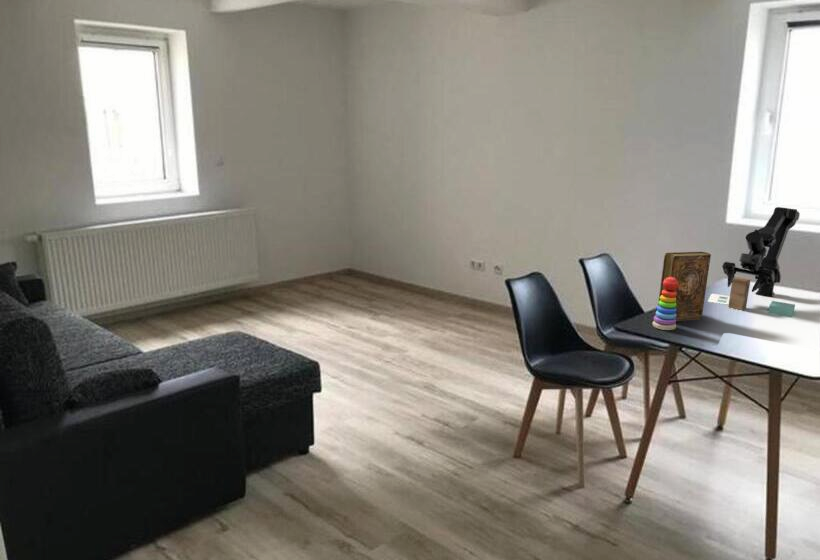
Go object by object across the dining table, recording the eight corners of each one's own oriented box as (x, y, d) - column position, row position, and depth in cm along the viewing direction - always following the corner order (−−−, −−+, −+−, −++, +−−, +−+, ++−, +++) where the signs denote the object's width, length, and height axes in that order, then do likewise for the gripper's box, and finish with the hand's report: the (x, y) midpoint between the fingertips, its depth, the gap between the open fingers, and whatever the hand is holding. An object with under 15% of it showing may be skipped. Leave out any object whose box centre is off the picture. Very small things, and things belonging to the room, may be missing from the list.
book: (695, 314, 251) (703, 251, 244) (704, 319, 246) (713, 254, 239) (656, 316, 248) (664, 252, 241) (664, 321, 242) (673, 256, 236)
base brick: (771, 307, 261) (772, 300, 261) (793, 311, 257) (795, 304, 256) (768, 312, 255) (769, 305, 254) (791, 316, 251) (792, 309, 250)
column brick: (733, 305, 264) (737, 276, 260) (746, 307, 260) (750, 279, 257) (728, 307, 261) (732, 278, 257) (741, 310, 257) (745, 281, 254)
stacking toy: (673, 332, 231) (680, 281, 226) (650, 328, 235) (656, 278, 230) (677, 326, 237) (684, 276, 232) (654, 322, 241) (661, 273, 236)
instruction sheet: (711, 293, 280) (711, 293, 280) (737, 297, 275) (737, 296, 275) (707, 301, 268) (707, 301, 268) (734, 305, 263) (734, 305, 263)
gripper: (727, 242, 264) (712, 272, 260) (777, 249, 251) (762, 282, 247) (732, 258, 271) (717, 288, 267) (780, 266, 258) (766, 298, 254)
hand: (740, 288), depth 258 cm, fingers open, 9 cm apart
